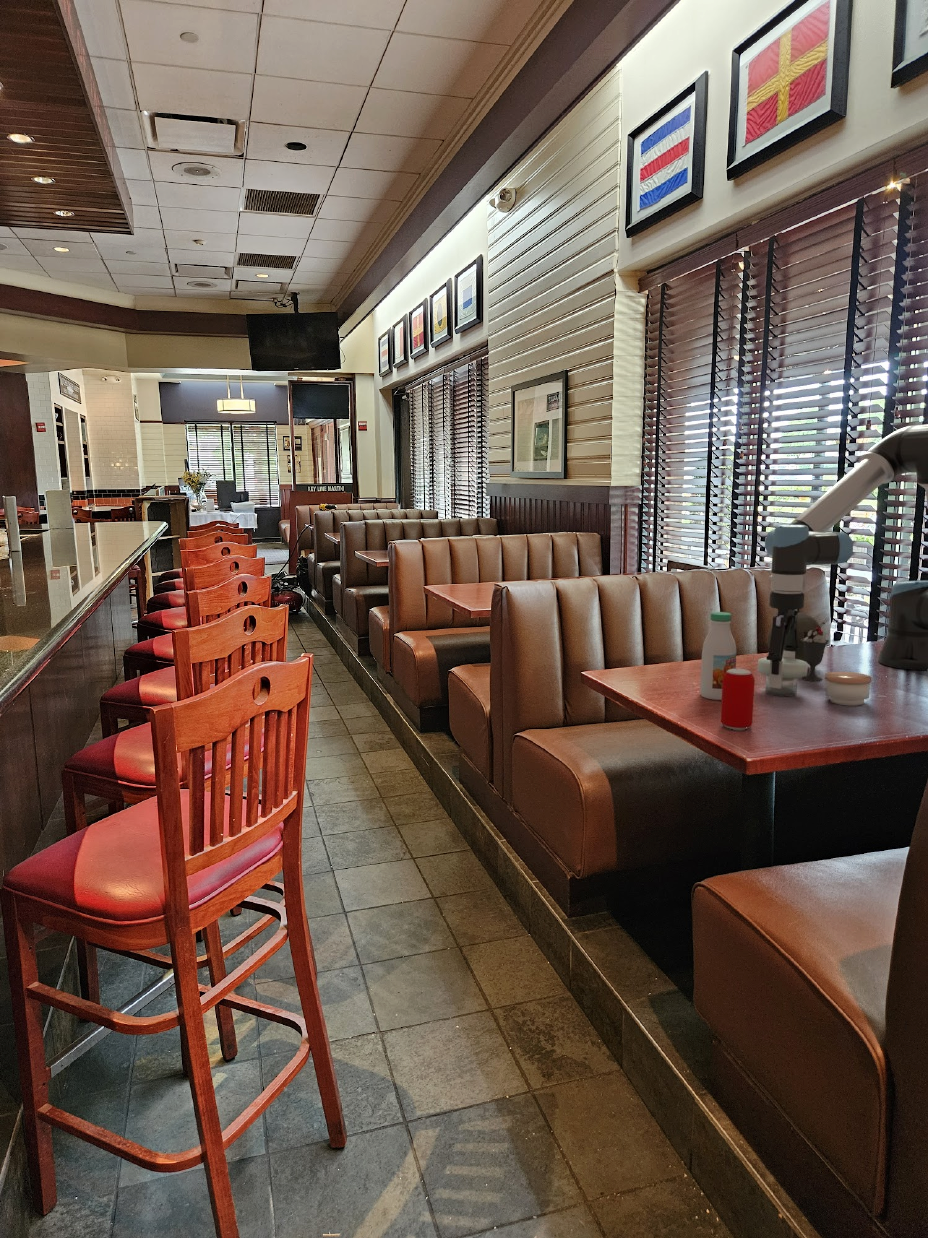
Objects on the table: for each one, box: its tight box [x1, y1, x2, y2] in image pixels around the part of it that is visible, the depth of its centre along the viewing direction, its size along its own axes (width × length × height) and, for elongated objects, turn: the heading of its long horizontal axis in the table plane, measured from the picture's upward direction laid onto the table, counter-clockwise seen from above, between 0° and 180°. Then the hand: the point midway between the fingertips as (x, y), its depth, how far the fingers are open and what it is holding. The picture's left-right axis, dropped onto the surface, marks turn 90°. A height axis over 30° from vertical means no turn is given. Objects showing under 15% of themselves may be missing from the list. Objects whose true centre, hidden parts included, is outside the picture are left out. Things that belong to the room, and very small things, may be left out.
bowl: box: [824, 671, 872, 707], centre depth 184 cm, size 10×10×6 cm
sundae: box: [800, 622, 830, 682], centre depth 204 cm, size 7×7×15 cm
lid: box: [757, 656, 809, 678], centre depth 191 cm, size 11×11×2 cm
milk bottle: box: [699, 611, 737, 701], centre depth 188 cm, size 8×8×20 cm
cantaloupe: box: [766, 612, 821, 662], centre depth 216 cm, size 14×14×15 cm
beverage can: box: [720, 668, 756, 731], centre depth 165 cm, size 6×6×12 cm
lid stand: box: [764, 675, 799, 697], centre depth 192 cm, size 7×7×5 cm
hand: (781, 682), depth 192 cm, fingers closed on lid, 11 cm apart
